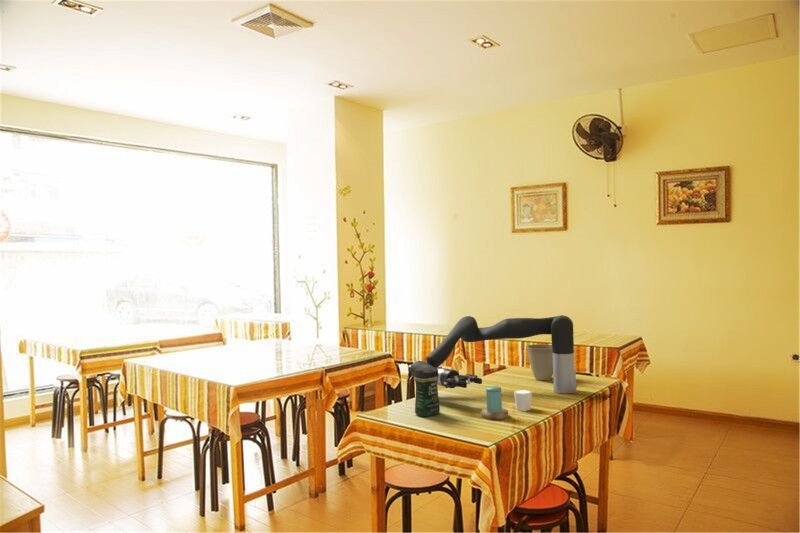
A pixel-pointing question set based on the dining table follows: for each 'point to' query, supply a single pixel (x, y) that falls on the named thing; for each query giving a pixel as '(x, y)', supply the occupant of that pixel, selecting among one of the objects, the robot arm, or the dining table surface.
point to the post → (495, 415)
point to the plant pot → (541, 360)
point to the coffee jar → (426, 391)
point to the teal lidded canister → (494, 399)
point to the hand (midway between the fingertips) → (473, 383)
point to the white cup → (522, 400)
